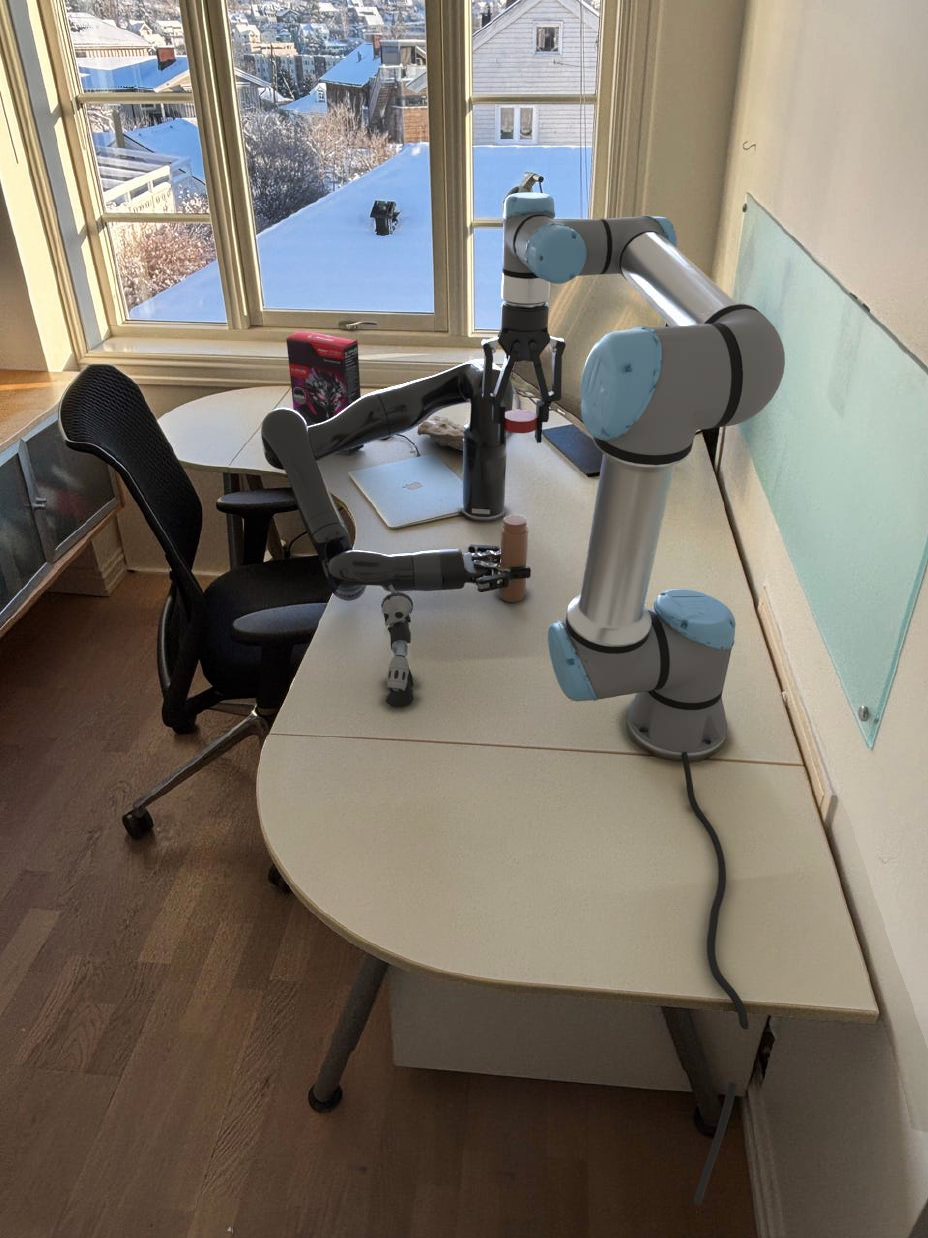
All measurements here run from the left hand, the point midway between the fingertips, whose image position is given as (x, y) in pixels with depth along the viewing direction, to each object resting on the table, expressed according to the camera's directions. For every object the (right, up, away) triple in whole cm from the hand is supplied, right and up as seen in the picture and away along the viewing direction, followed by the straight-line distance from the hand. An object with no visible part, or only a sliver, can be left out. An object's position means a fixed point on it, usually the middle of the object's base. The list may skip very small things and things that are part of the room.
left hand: (526, 564), depth 172 cm
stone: (-14, +34, +62) cm, 72 cm away
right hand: (-2, +20, -15) cm, 25 cm away
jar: (-3, -6, +3) cm, 7 cm away
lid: (-2, +24, -17) cm, 29 cm away
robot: (-22, -22, -22) cm, 38 cm away
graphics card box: (-46, +33, +61) cm, 83 cm away
